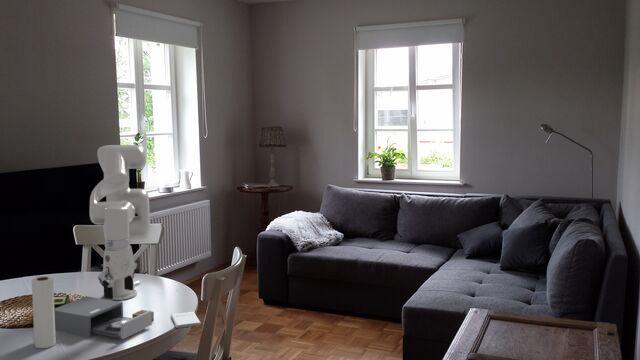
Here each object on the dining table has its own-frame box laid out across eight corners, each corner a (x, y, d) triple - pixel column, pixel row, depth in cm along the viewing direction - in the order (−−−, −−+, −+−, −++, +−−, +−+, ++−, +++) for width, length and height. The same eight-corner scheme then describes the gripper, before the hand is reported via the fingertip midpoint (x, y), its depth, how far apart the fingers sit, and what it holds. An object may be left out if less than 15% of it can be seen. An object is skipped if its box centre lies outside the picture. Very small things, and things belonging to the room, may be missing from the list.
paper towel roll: (53, 348, 182) (50, 280, 180) (32, 349, 181) (29, 281, 179) (58, 339, 189) (56, 274, 187) (38, 340, 188) (35, 275, 186)
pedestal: (142, 319, 208) (141, 309, 208) (153, 321, 207) (153, 311, 206) (132, 324, 204) (132, 314, 204) (144, 326, 202) (144, 316, 202)
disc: (135, 324, 198) (135, 319, 198) (121, 331, 192) (121, 326, 192) (119, 321, 201) (118, 316, 201) (104, 328, 195) (104, 322, 194)
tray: (112, 317, 206) (111, 304, 206) (151, 324, 200) (151, 310, 200) (82, 331, 194) (81, 316, 193) (123, 338, 187) (123, 324, 187)
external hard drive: (176, 329, 201) (171, 318, 212) (200, 326, 204) (194, 315, 215) (176, 325, 200) (171, 313, 212) (200, 322, 204) (194, 310, 215)
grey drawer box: (87, 315, 212) (86, 295, 211) (123, 321, 206) (122, 301, 205) (51, 330, 197) (51, 309, 197) (89, 337, 191) (88, 315, 191)
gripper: (107, 250, 184) (109, 303, 186) (144, 239, 200) (145, 288, 202) (89, 248, 187) (90, 300, 189) (126, 236, 203) (127, 285, 205)
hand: (118, 293), depth 196 cm, fingers open, 9 cm apart
